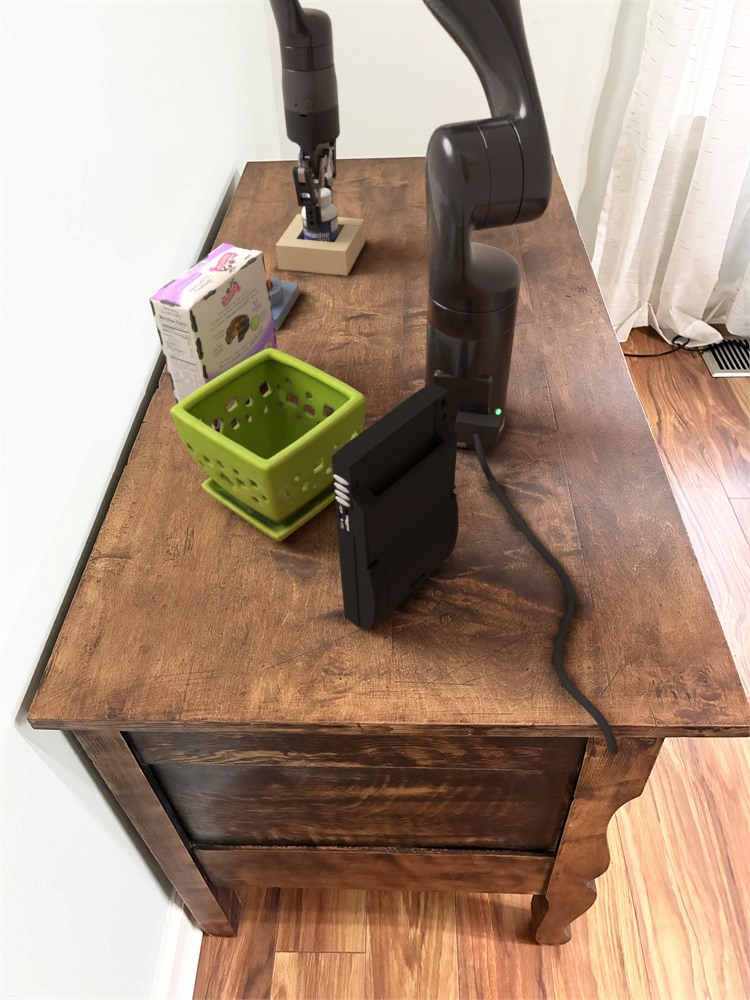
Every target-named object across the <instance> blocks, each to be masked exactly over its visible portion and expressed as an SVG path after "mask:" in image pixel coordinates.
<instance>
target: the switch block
mask: <svg viewBox="0 0 750 1000" xmlns="http://www.w3.org/2000/svg"><path fill="white" fill-rule="evenodd" d="M269 276H270V281H271V290H269V296H270V302H271V309H272V315H273V322H274V330H275V331H278V330H280V328H281V326H282V325H283V322H284V321H285V319H286V317H287V316H288V315H289V313H290V311H291V309H292V308H293V307H294V304H295V303H296V301H297V299H298V298H299V296H300V295H301V291H300V283H297V282H286V281H280V279H278V278H276V277H274V276H271V275H269Z"/></svg>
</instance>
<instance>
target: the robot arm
mask: <svg viewBox="0 0 750 1000" xmlns="http://www.w3.org/2000/svg"><path fill="white" fill-rule="evenodd" d="M268 2H269V4H270V8H271V11H272V14H273V15H272V16H273V18H274V22H275V26H276V29H277V35H278V45H279V54H280V55H279V56H280V64H281V91H282V102H283V111H284V121H285V130H286V137H287V139H288V140H289V141H290V142H292V143H294V144H296V145H298V146H299V153H298V157H297V159H298V160H297V166H293V167H292V177H293V182H294V188H295V194H296V199H297V206H298V207H300V208H301V207H302V208H303V207H305V212H306V223H307V229H308V230H313V231H320V230H321V228H322V216H321V205H320V204H321V190H322V189H323V188H327V189H329V190H330V191H331V195H332V196H333V187H334V185H335V184H334V183H335V182H334V180H335V179H336V177H337V139H338V138H339V137H340V134H341V125H340V124H341V123H340V106H339V105H340V104H339V90H338V89H339V88H338V78H337V73H336V66H335V54H334V53H335V52H334V35H333V24H332V23H333V22H332V19H331V17H330V15H329V14H328V13H327V12H325V10H321V9H319V8H311V7H303V6H302V5H301V3H300V0H268ZM421 2H422V3H423V5H424V6H425V8H426V9H427V10H428V12H429V13H430V15H432V17H433V18H434V20H436V22H437V23H438V24H439V26H441V28H442V29H443V30H444V31H445V33H446V34H447V35H448V36H449V37H450V39H451V40H452V41H453V43H454V44H455V45H457V47H458V49H459V50H460V51H461V52H462V54H463V55H464V56H465V57H466V59H467V61H468V62H469V64H470V65H471V67H472V69H473V70H474V73H475V74H476V76H477V79H478V80H479V83H480V86H481V88H482V90H483V93H484V97H485V99H486V103H487V106H488V109H489V114H490V117H486V118H478V119H477V118H476V119H471V120H461V121H456V122H455V121H454V122H449V123H444V124H441V125H439V126H437V127H436V128H434V130H433V132H431V133H432V134H431V135H430V137H429V140H428V143H427V146H426V152H425V164H424V189H425V190H424V191H425V211H426V213H425V214H426V216H425V217H426V263H427V305H426V306H427V309H426V312H427V313H426V337H425V339H426V341H425V342H426V343H425V345H426V346H425V375H424V376H425V379H424V387H425V386H426V385H428V384H429V383H431V382H433V383H435V384H437V385H439V386H441V387H443V388H445V389H447V390H449V395H448V399H447V403H448V409H447V420H446V421H447V422H448V423H449V425H450V426H451V428H452V429H453V430H454V432H455V433H456V434H457V448H463V449H469V450H470V449H471V450H475V451H476V452H475V453H476V456H477V459H478V462H479V465H480V468H481V470H482V473H483V475H484V476H485V478H486V480H487V482H488V483H489V485H490V487H491V489H492V491H493V492H494V494H495V495H496V496H497V498H498V499H499V501H500V502H501V504H502V505H503V507H504V508H505V511H506V512H507V513H508V515H509V516H510V517H511V519H512V520H513V522H514V523H515V524H516V526H517V527H518V528H519V530H520V531H521V533H522V534H523V536H524V537H525V539H526V540H527V541H528V542H529V543H530V544H531V545H532V547H533V548H534V549H535V550H536V552H538V553H539V554H540V555H541V556H542V557H543V558H544V560H545V561H547V563H548V564H549V565H550V566H551V568H552V569H553V571H554V572H555V573H556V574H557V576H558V578H559V580H560V583H561V584H562V588H563V590H564V594H565V610H564V614H563V617H562V619H561V622H560V624H559V627H558V630H557V633H556V636H555V638H554V643H553V651H552V658H553V659H552V661H553V665H554V670H555V673H556V676H557V678H558V680H559V682H560V683H561V685H562V687H563V688H564V689H565V691H566V692H567V693H568V694H569V695H570V697H572V698H573V699H574V700H575V701H576V702H577V703H578V704H579V705H580V706H581V707H582V708H583V709H584V710H585V711H586V712H587V713H588V714H589V715H590V717H592V719H593V720H594V722H596V724H597V725H598V727H599V728H600V730H601V732H602V734H603V738H604V739H605V742H606V746H607V750H608V751H609V752H610V753H609V754H612V755H618V754H619V747H618V742H617V739H616V736H615V734H614V732H613V729H612V727H611V725H610V724H609V721H608V720H607V718H606V717H605V715H604V714H603V713H602V712H601V711H600V709H599V708H597V706H596V705H595V704H594V703H593V702H592V701H591V700H590V699H589V698H587V697H586V696H585V695H584V694H583V693H582V692H581V691H580V690H579V689H578V688H577V686H576V685H574V683H573V682H572V680H571V679H570V677H569V675H568V673H567V670H566V669H565V666H564V665H565V664H564V661H563V647H564V643H565V639H566V636H567V633H568V631H569V628H570V626H571V623H572V619H573V617H574V612H575V607H576V598H575V592H574V591H575V590H574V588H573V584H572V581H571V579H570V577H569V575H568V574H567V572H566V570H565V569H564V567H563V566H562V564H560V562H559V561H558V560H557V559H556V557H555V556H554V555H553V554H552V553H551V552H550V551H549V550H548V549H547V548H546V547H545V546H544V544H542V543H541V542H540V540H539V539H538V538H537V537H536V535H535V534H534V533H533V531H531V529H530V528H529V526H528V525H527V523H526V522H525V521H524V519H523V518H522V517H521V515H520V514H519V513H518V512H517V510H516V508H515V507H514V506H513V504H512V503H511V502H510V500H509V499H508V497H507V496H506V495H505V493H504V491H503V489H502V488H501V486H500V484H499V483H498V481H497V479H496V477H495V475H494V474H493V472H492V470H491V468H490V466H489V463H488V461H487V457H486V454H485V450H486V447H491V448H497V447H498V443H499V437H500V436H501V434H502V433H503V431H504V428H505V420H506V419H505V414H506V413H505V412H506V406H507V395H508V388H509V387H508V386H509V378H510V370H511V362H512V356H513V355H512V354H513V347H514V337H515V330H516V321H517V314H518V307H519V298H520V290H521V281H522V269H521V265H520V264H519V262H518V260H517V259H516V258H515V257H514V256H513V255H512V254H511V253H509V252H508V251H506V250H504V249H501V248H499V247H496V246H493V245H490V244H486V243H482V242H477V241H474V240H472V234H473V232H477V231H483V230H491V229H496V228H497V229H498V228H503V227H508V226H514V225H515V226H516V225H522V224H526V223H530V222H535V221H537V220H538V219H540V218H542V217H543V216H544V215H545V213H546V212H547V210H548V208H549V206H550V204H551V200H552V197H553V189H554V164H553V163H554V162H553V153H552V145H551V140H550V134H549V130H548V126H547V122H546V117H545V112H544V109H543V103H542V99H541V96H540V92H539V86H538V83H537V78H536V75H535V69H534V65H533V61H532V57H531V52H530V47H529V43H528V39H527V34H526V29H525V23H524V17H523V12H522V5H521V0H421ZM308 194H309V195H310V197H308ZM333 201H334V200H333V199H332V202H331V203H332V204H334V202H333Z"/></svg>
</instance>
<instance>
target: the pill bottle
mask: <svg viewBox="0 0 750 1000" xmlns="http://www.w3.org/2000/svg"><path fill="white" fill-rule="evenodd" d="M308 197H310V195H309V194H308ZM332 200H333V194H332V195H331V191H330V190H329V189H327V188H323V189H322V190H321V204H320V205H321V216H322V228H321V230H320V231H313V230H308V229H307V223H306V212H305V207H302V208H301V214H302V221H303V232H304V240H314V241H325V242H335V241H336V239H337V237H338V235H339V233H338V217H339V216H338V209H337V207H336V205H335V204H334V203H333V204H332V203H331V202H332Z"/></svg>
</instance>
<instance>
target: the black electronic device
mask: <svg viewBox="0 0 750 1000" xmlns="http://www.w3.org/2000/svg"><path fill="white" fill-rule="evenodd" d="M448 395H449V390H447V389H445V388H443V387H441V386H439V385H437V384H435V383H433V382H431V383H429V384H428V385H426V386H425V385H424V386H423V387H421V388H420V389H419V390H417V391H416V392H414V393H413V394H411V395H410V396H409V397H407V398H406V399H405V400H403V401H402V402H401V403H399V404H398V405H396V406H395V407H394V408H392V409H391V410H390V411H389V412H387V413H385V414H384V415H383V416H382V417H380V418H379V419H378V420H376V421H375V422H373V423H372V424H371V425H369V426H368V427H366V429H363V432H362V433H360V434H359V435H357V436H356V437H355V438H353V439H352V440H351V441H349V442H348V443H347V444H345V445H344V446H343V447H342V448H340V449H339V450H338V451H337V452H336V453H334V454H333V455H332V467H333V479H334V492H335V500H334V503H335V516H336V526H337V527H336V528H337V529H336V530H337V538H338V552H339V565H340V566H339V568H340V582H341V590H342V593H341V594H342V602H343V613H344V619H347V620H348V621H349V622H350V623H352V624H353V625H355V626H356V627H357V628H362V629H363V630H373V629H374V630H375V628H377V626H378V625H380V623H382V621H384V620H385V618H387V616H389V615H390V614H391V613H392V612H393V611H394V610H395V609H396V608H398V607H400V606H402V605H404V604H406V603H408V602H410V601H411V600H412V599H414V598H415V597H416V595H417V594H418V593H419V590H420V588H421V586H422V585H423V583H424V581H425V580H426V579H427V578H428V577H429V576H430V575H432V573H434V571H436V570H437V569H438V568H439V567H440V566H441V565H442V564H443V563H445V562H446V560H447V559H448V558H449V557H451V555H452V553H453V551H454V549H455V548H456V547H455V546H456V543H457V539H458V534H459V528H460V524H459V521H460V520H459V518H460V517H459V505H458V499H457V496H458V494H457V493H456V492H455V489H456V488H457V487H456V485H455V484H456V483H455V481H456V468H457V467H456V465H457V452H458V451H457V450H458V447H457V434H456V433H455V432H454V430H453V429H452V428H451V426H450V425H449V423H448V422H447V421H446V420H447V409H448V403H447V399H448Z"/></svg>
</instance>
